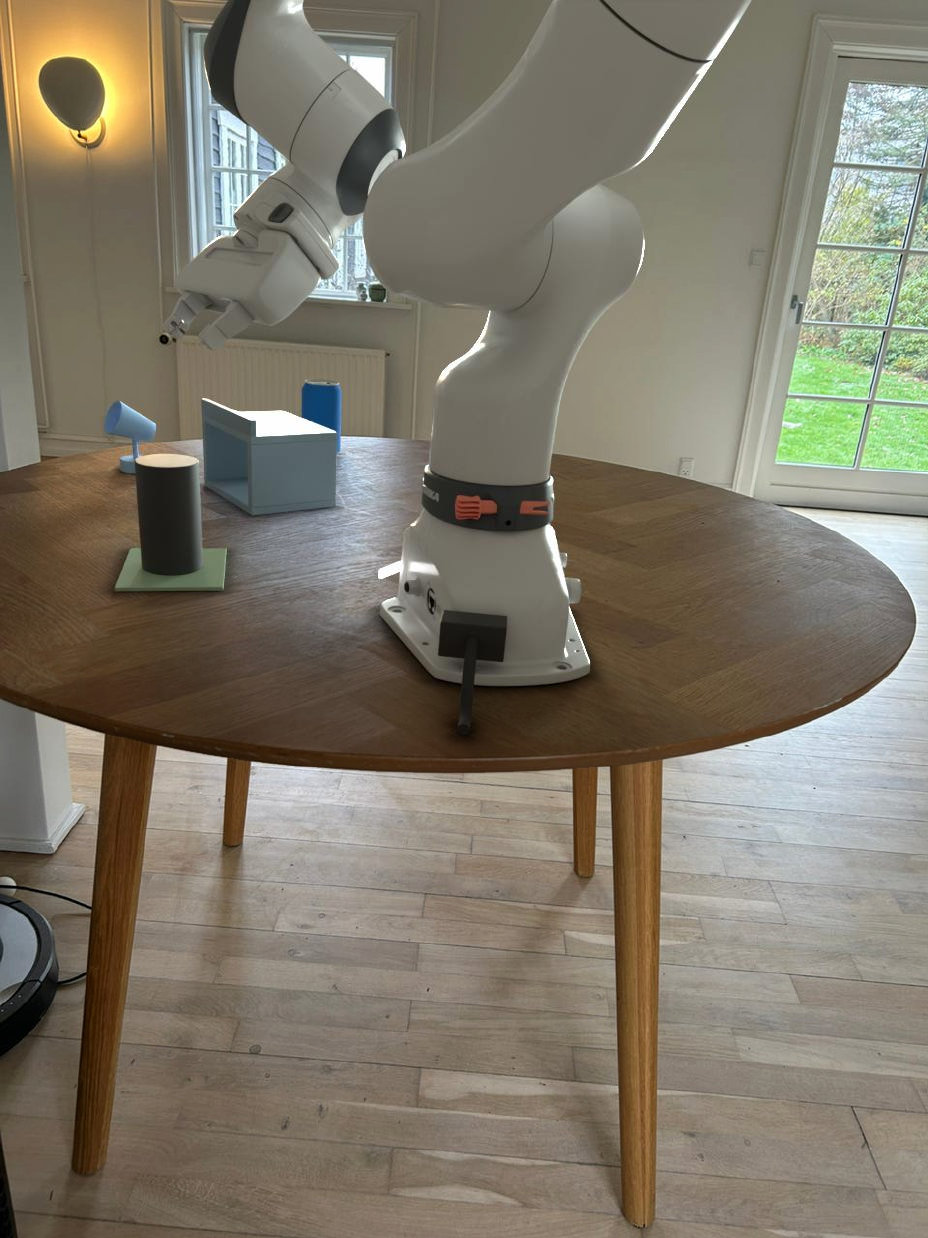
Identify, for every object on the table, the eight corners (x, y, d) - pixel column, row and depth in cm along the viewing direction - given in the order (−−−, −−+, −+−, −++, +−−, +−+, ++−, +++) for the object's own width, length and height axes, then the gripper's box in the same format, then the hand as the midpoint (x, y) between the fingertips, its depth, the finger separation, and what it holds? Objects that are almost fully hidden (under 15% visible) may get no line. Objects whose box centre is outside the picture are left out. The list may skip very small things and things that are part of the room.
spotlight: (115, 475, 120) (163, 471, 125) (109, 403, 117) (159, 402, 121) (103, 468, 124) (150, 464, 128) (97, 398, 120) (146, 396, 124)
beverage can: (344, 452, 146) (345, 381, 142) (335, 460, 140) (336, 385, 136) (307, 449, 146) (307, 377, 142) (296, 456, 141) (296, 382, 136)
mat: (223, 590, 84) (223, 586, 84) (114, 591, 81) (114, 587, 81) (226, 551, 94) (226, 548, 94) (130, 551, 92) (130, 547, 92)
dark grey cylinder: (201, 575, 86) (197, 468, 82) (138, 575, 85) (130, 466, 80) (204, 556, 91) (200, 454, 87) (145, 556, 90) (138, 452, 86)
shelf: (335, 506, 115) (337, 416, 110) (252, 515, 108) (250, 420, 103) (283, 478, 126) (282, 396, 122) (204, 485, 119) (200, 398, 115)
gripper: (215, 209, 90) (127, 304, 88) (306, 210, 75) (203, 324, 73) (255, 258, 94) (172, 350, 92) (349, 268, 79) (253, 377, 77)
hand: (186, 339), depth 82 cm, fingers open, 8 cm apart
